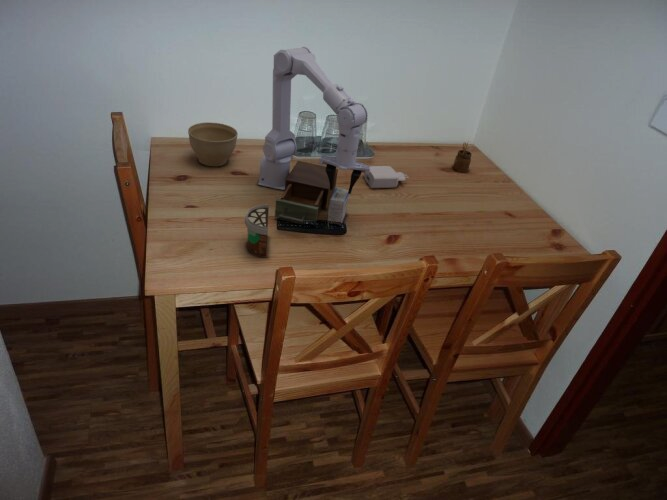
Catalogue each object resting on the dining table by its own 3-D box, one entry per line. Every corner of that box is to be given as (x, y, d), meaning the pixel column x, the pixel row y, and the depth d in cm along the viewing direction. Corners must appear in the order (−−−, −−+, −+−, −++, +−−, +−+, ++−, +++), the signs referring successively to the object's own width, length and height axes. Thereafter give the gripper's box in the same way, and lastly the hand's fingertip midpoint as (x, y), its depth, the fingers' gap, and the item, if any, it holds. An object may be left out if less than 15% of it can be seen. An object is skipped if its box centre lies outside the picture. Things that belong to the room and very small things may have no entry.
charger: (411, 188, 178) (371, 189, 174) (401, 176, 185) (363, 176, 181) (414, 176, 176) (374, 177, 171) (404, 164, 183) (365, 164, 178)
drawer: (310, 236, 144) (312, 218, 141) (268, 226, 145) (269, 209, 142) (325, 204, 160) (327, 188, 156) (287, 196, 161) (288, 180, 157)
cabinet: (325, 210, 159) (328, 188, 154) (283, 201, 160) (285, 179, 156) (335, 189, 170) (338, 169, 166) (296, 181, 172) (297, 160, 167)
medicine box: (341, 227, 152) (345, 201, 147) (326, 223, 152) (330, 198, 147) (345, 214, 158) (349, 189, 153) (331, 211, 159) (335, 186, 154)
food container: (245, 232, 143) (246, 202, 137) (267, 234, 143) (269, 203, 138) (242, 259, 133) (243, 226, 127) (266, 260, 133) (268, 228, 128)
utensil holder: (469, 169, 198) (478, 140, 192) (464, 174, 194) (473, 145, 187) (455, 164, 201) (464, 135, 194) (450, 169, 196) (458, 140, 189)
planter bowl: (232, 174, 170) (233, 143, 164) (183, 168, 169) (182, 137, 163) (240, 154, 183) (241, 125, 177) (195, 148, 182) (194, 119, 176)
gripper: (319, 147, 139) (313, 191, 147) (370, 158, 138) (362, 201, 146) (324, 138, 145) (319, 180, 153) (374, 148, 144) (366, 190, 151)
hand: (340, 190), depth 149 cm, fingers open, 5 cm apart
